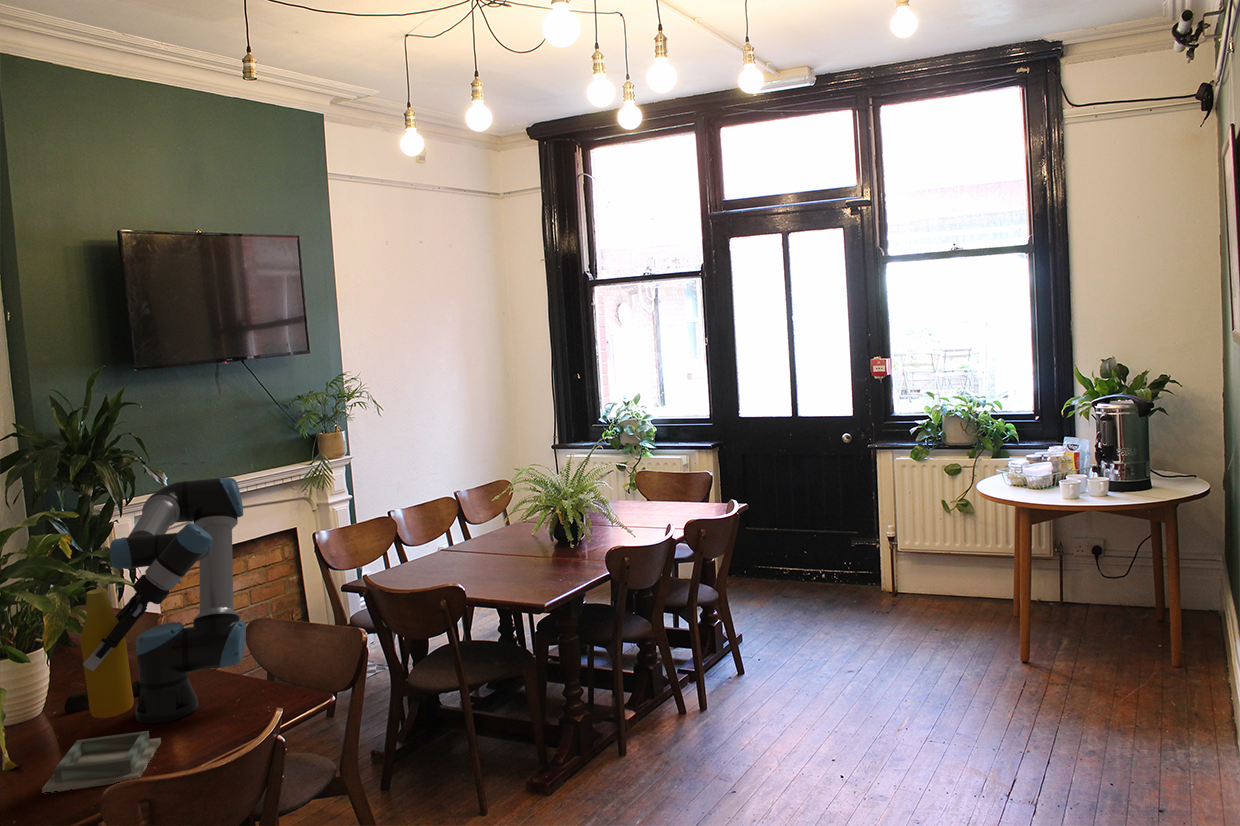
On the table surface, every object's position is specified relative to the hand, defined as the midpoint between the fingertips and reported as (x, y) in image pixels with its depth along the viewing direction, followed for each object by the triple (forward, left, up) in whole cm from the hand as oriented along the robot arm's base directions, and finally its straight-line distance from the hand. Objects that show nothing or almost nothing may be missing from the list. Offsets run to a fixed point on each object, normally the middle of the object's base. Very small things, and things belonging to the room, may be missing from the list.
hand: (89, 660), depth 220 cm
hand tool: (-44, -12, -27) cm, 53 cm away
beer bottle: (-1, +3, -13) cm, 13 cm away
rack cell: (-1, 0, -26) cm, 26 cm away
